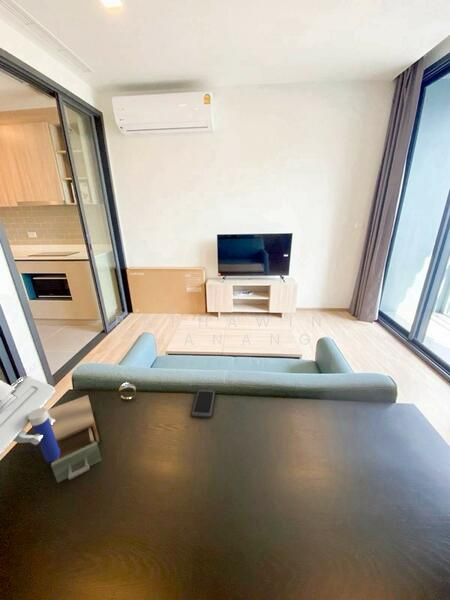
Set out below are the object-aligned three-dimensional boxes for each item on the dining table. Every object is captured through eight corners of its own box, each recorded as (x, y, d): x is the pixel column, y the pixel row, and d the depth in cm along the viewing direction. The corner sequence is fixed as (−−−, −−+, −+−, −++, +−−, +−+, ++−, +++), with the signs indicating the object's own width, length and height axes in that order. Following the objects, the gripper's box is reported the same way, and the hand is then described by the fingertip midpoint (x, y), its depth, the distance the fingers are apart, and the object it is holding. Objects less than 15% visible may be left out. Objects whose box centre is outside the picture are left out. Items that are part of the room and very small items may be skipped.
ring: (138, 396, 102) (135, 380, 99) (136, 401, 99) (133, 385, 96) (120, 398, 101) (117, 382, 98) (118, 403, 98) (115, 387, 95)
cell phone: (191, 416, 91) (190, 415, 91) (198, 390, 104) (198, 389, 104) (210, 417, 90) (210, 416, 90) (215, 391, 103) (215, 390, 103)
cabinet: (99, 442, 82) (94, 422, 79) (54, 463, 75) (47, 443, 72) (92, 412, 94) (87, 394, 91) (53, 428, 87) (46, 410, 84)
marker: (45, 465, 60) (27, 421, 55) (44, 454, 62) (28, 412, 57) (61, 457, 61) (46, 414, 57) (60, 447, 64) (45, 405, 59)
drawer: (104, 471, 72) (99, 455, 69) (58, 496, 66) (51, 479, 63) (94, 428, 86) (90, 413, 84) (55, 445, 80) (50, 429, 78)
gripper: (18, 380, 66) (64, 407, 69) (-63, 451, 47) (6, 482, 50) (30, 366, 64) (76, 394, 68) (-49, 432, 45) (22, 466, 49)
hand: (46, 432), depth 59 cm, fingers closed on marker, 3 cm apart
